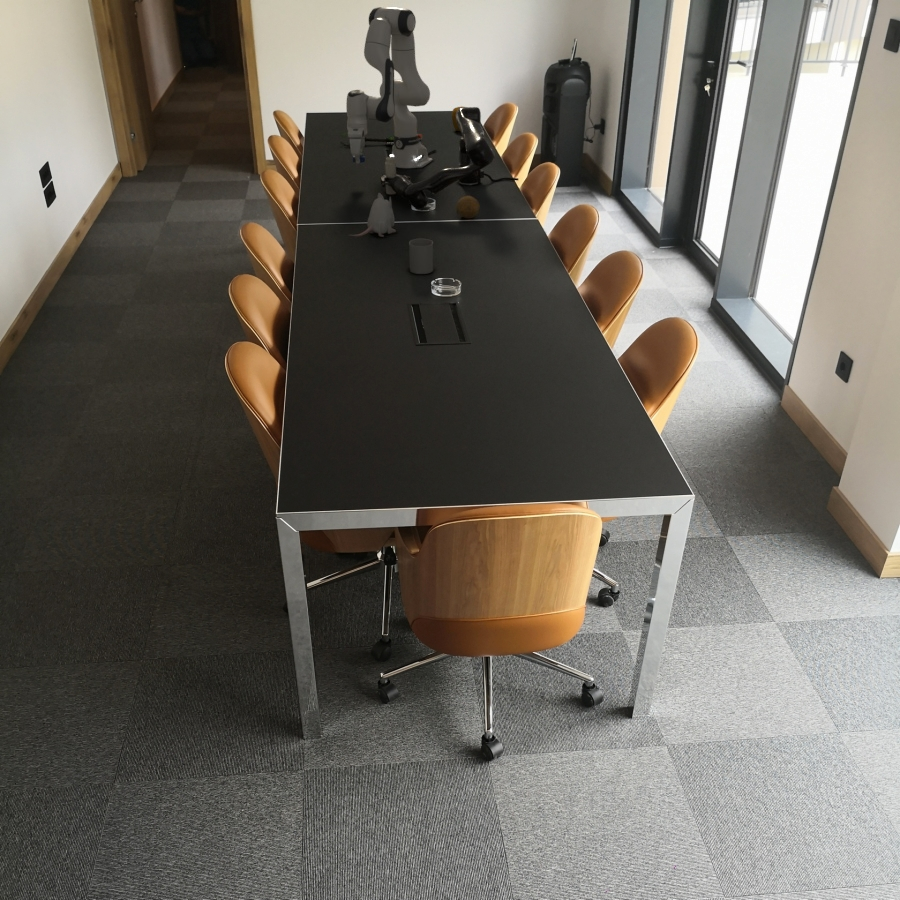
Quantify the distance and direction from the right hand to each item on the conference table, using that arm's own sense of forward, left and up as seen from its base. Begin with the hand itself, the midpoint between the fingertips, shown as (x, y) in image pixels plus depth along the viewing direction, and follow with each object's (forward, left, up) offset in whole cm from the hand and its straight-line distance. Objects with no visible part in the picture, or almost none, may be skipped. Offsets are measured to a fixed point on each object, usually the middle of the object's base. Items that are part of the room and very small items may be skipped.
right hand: (388, 176), depth 387 cm
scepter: (-20, -85, -7) cm, 87 cm away
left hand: (+9, -15, +4) cm, 18 cm away
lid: (+9, -16, +6) cm, 19 cm away
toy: (+28, +56, -7) cm, 63 cm away
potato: (-16, +48, -7) cm, 51 cm away
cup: (+24, +96, -7) cm, 99 cm away
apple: (-79, -95, -7) cm, 124 cm away
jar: (0, +3, -7) cm, 7 cm away
